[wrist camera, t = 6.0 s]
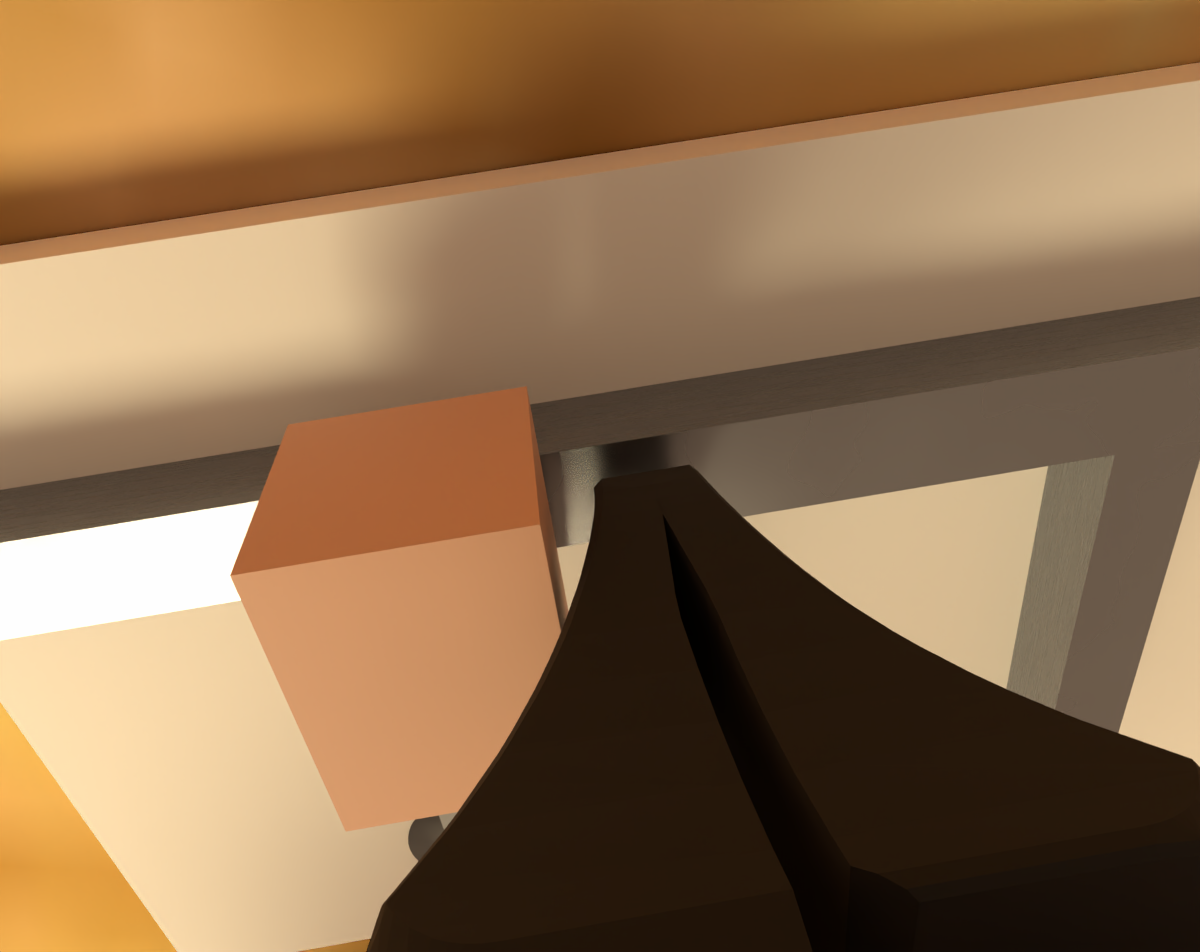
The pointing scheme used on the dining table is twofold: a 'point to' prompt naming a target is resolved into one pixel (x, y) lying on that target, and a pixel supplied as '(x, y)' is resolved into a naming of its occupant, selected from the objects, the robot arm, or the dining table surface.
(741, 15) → the dining table surface
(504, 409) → the leg
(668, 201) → the hole plate
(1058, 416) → the bar
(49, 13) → the dining table surface
